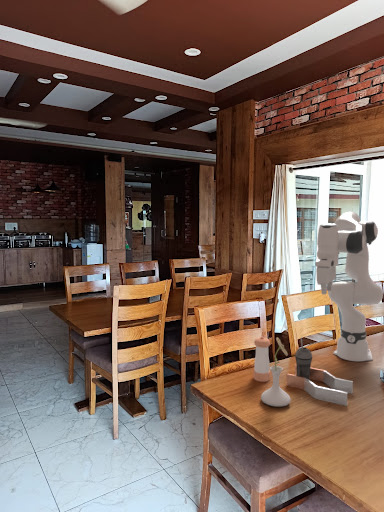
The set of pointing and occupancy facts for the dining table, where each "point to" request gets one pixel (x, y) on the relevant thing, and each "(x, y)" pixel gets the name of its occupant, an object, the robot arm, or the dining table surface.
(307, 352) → the beverage cup
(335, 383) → the rail track
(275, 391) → the flower in vase
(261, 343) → the pepper shaker
